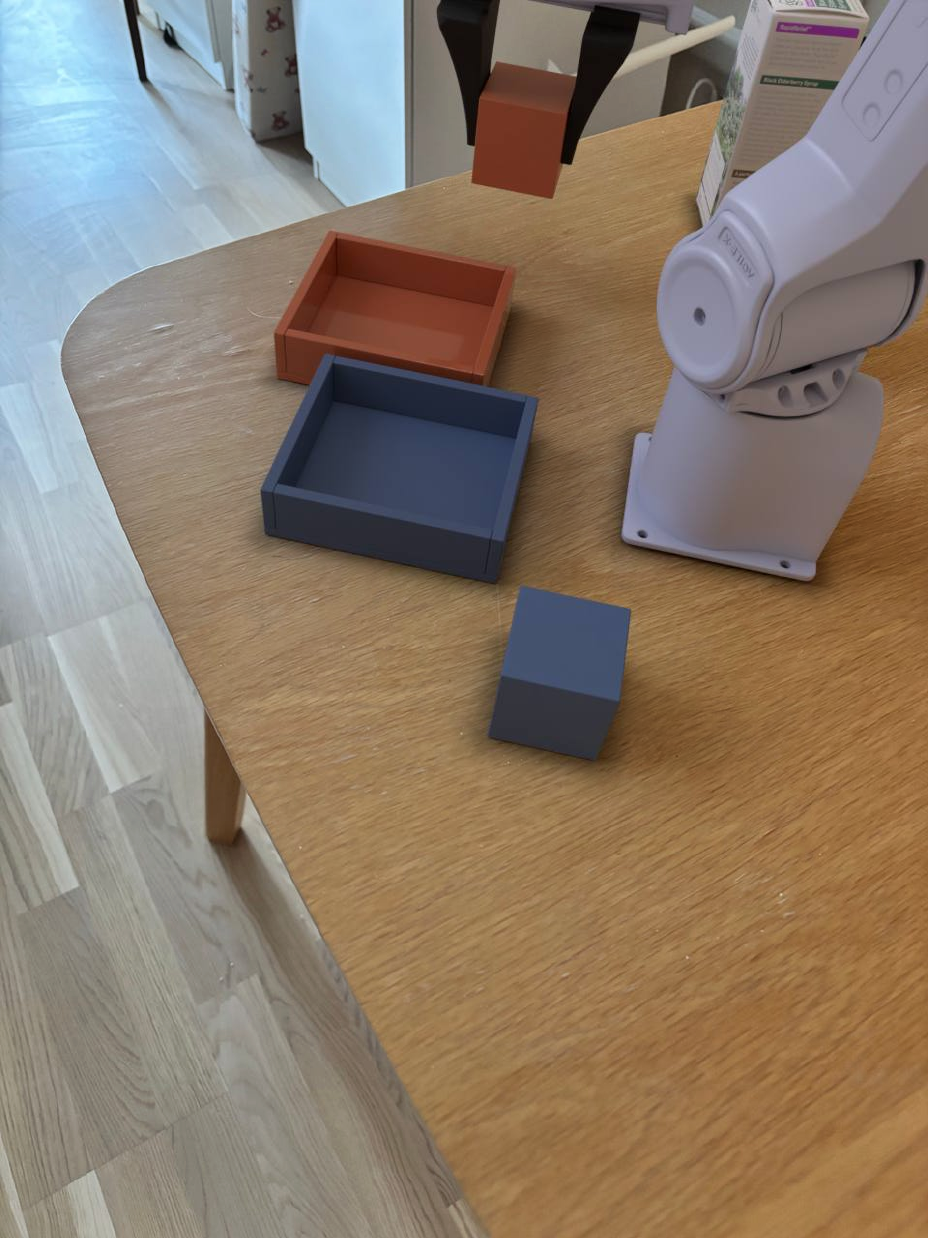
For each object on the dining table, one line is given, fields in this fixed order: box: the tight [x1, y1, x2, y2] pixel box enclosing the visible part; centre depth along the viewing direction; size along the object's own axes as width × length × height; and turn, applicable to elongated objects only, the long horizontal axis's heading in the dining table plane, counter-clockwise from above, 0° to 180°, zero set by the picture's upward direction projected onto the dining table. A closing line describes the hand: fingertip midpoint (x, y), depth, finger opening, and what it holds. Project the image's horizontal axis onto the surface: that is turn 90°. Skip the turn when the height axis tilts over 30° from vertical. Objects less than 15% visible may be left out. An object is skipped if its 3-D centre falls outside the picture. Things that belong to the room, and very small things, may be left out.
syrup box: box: [694, 0, 871, 228], centre depth 61 cm, size 6×6×14 cm
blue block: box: [487, 585, 632, 761], centre depth 40 cm, size 5×5×5 cm
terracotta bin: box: [273, 230, 518, 387], centre depth 55 cm, size 11×10×3 cm
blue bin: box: [259, 354, 540, 585], centre depth 48 cm, size 11×10×3 cm
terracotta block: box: [470, 60, 577, 200], centre depth 53 cm, size 5×5×5 cm
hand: (522, 146), depth 54 cm, fingers closed on terracotta block, 4 cm apart
